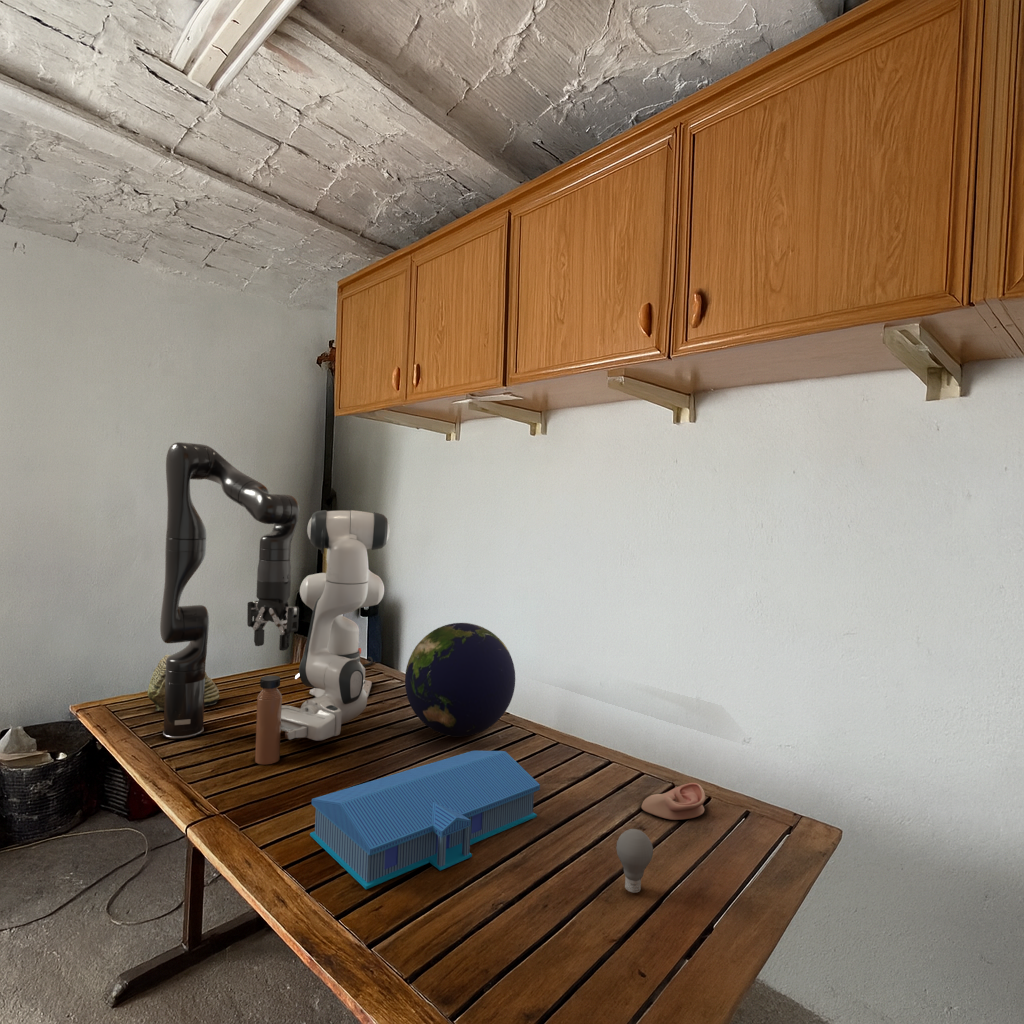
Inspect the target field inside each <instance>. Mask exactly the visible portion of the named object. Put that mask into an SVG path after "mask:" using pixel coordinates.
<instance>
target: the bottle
mask: <svg viewBox="0 0 1024 1024" xmlns="http://www.w3.org/2000/svg"><path fill="white" fill-rule="evenodd" d="M282 706H283V695H282V693H281V691H280V690H279V688H278V687H277V688H271V689H265V688H262V689H261V691H260V692H259V693H258V695H257V698H256V718H255V719H256V720H255V721H256V722H255V724H256V726H255V750H254V762H255V763H256V764H257V765H264V766H265V765H266V766H267V765H272V764H275V763H277V762H279V761H280V759H281V735H282V733H281V731H282V730H281V710H282Z"/></svg>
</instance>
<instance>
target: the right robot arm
mask: <svg viewBox="0 0 1024 1024" xmlns="http://www.w3.org/2000/svg"><path fill="white" fill-rule="evenodd" d="M306 532H307V536H308V539H309V543H310V544H311V545H312V546H313V548H316V549H318V550H319V551H320V553H321V554H323V555H324V554H325V549H326V565H327V566H326V572H319V573H314V574H313V573H312V574H309V575H306V577H304V579H303V580H302V582H301V584H300V587H299V595H300V598H301V601H302V602H303V603H304V604H305V606H307V607H308V608H310V609H311V610H312V614H311V618H310V623H309V628H308V633H307V638H306V642H305V643H306V644H305V647H304V651H303V655H302V657H301V660H300V663H299V667H298V673H297V674H296V675H295V677H294V679H295V680H297V679H298V678H300V679H299V680H300V681H301V684H303V685H304V686H305V687H309V688H311V689H309V695H312V696H314V697H313V698H310V699H307V700H305V701H303V702H302V704H301V706H300V707H296V706H292V705H289V704H282V710H281V731H282V732H284V738H285V739H287V740H290V741H291V740H293V739H301V738H305V739H308V740H312V741H318V742H319V741H325V740H326V739H329V738H332V737H337V736H340V734H341V731H342V725H343V724H346V723H348V722H350V721H352V720H354V719H356V718H357V717H359V716H360V715H361V714H362V713H363V712H364V710H365V709H367V706H368V697H369V695H370V691H371V689H372V685H373V682H372V681H371V680H368V679H366V668H365V667H367V666H370V665H372V664H373V662H374V659H373V658H372V657H371V656H368V657H367V660H368V661H369V662H367V663H365V664H363V663H362V662H361V654H362V648H361V647H359V645H360V627H359V625H358V624H357V622H355V621H354V620H352V619H350V618H348V617H346V616H344V615H346V614H349V613H353V612H355V611H356V610H358V609H360V608H368V607H374V606H377V605H379V603H381V601H382V600H383V598H384V595H385V584H384V582H383V580H382V578H381V577H380V576H379V575H377V574H375V573H374V572H372V571H371V570H370V569H369V555H368V550H371V551H375V550H380V549H383V548H384V547H385V546H386V545H387V542H388V540H389V538H390V534H391V528H390V523H389V521H388V518H387V517H386V516H385V515H384V514H382V513H379V512H374V511H373V513H372V512H369V511H363V510H362V511H361V510H352V509H350V510H326V509H323V510H317V511H314V512H313V513H312V515H311V516H310V519H309V520H308V524H307V529H306Z"/></svg>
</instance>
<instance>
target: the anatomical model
mask: <svg viewBox="0 0 1024 1024" xmlns="http://www.w3.org/2000/svg"><path fill="white" fill-rule="evenodd" d="M705 801H706V793H705V791H704V789H703V787H702V786H701V785H700V784H699V783H697V782H689V783H685V784H682V785H679V786H676V787H674V788H672V789H670V790H668V791H666V792H664V793H655V794H651V795H649V796H647V797H646V798H645V799H644V800H643V801H642V803H641V806H640V807H641V810H643V811H644V812H646V813H648V814H650V815H653V816H656V817H659V818H662V819H666V820H671V821H678V820H688V819H694V818H697V817H700V816H702V815H703V814H704V813H705V807H704V802H705Z"/></svg>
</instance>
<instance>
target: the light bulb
mask: <svg viewBox="0 0 1024 1024" xmlns="http://www.w3.org/2000/svg"><path fill="white" fill-rule="evenodd" d="M615 849H616V854H617V857H618V859H619V861H620V863H621V865H622V867H623V873H624V874H623V875H624V876H625V878H624V888H625V890H627V891H628V892H630V893H634V894H635V893H639V892H640V891H641V889H642V887H641V886H642V879H643V877H644V875H645V871H646V868H647V867H648V866H649V864H650V863H651V861H652V859H653V855H654V847H653V843H652V841H651V838H649V836H648V835H647V834H646V833H645V832H643V831H642V830H641V829H636V828H629V829H627V830H625V831H623V832H622V833H621V834H620V835H619V837H618V839H617V841H616V847H615Z"/></svg>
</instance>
